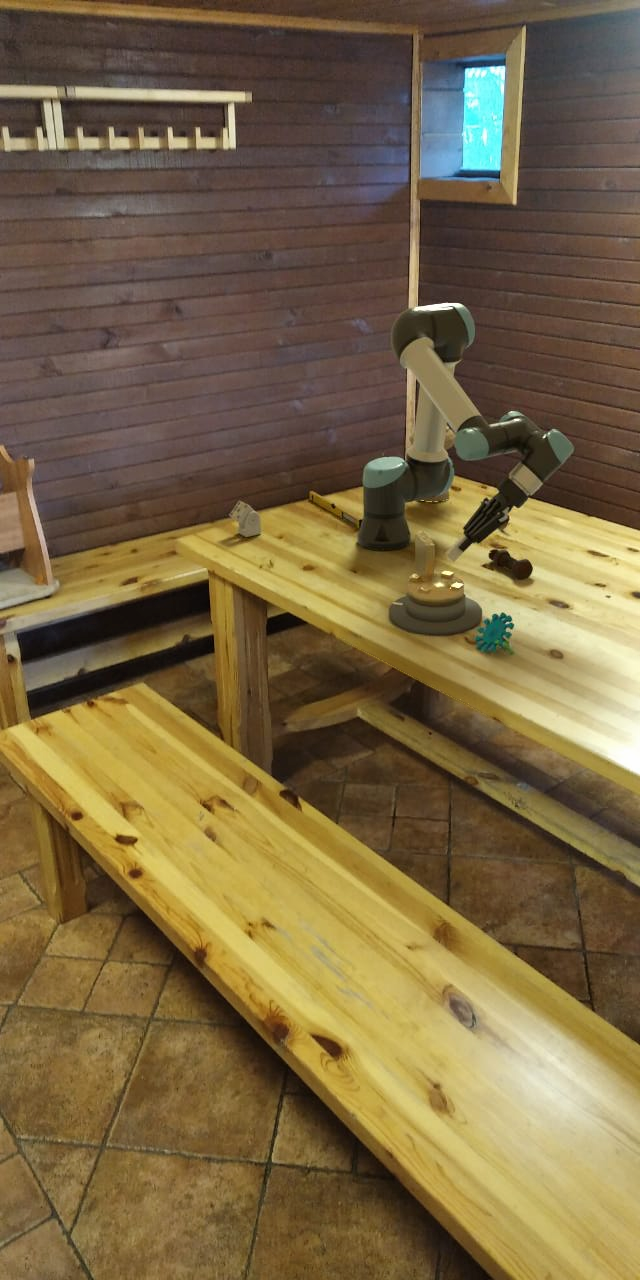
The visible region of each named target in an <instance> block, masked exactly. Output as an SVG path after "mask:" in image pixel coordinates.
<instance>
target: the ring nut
mask: <svg viewBox="0 0 640 1280" xmlns="http://www.w3.org/2000/svg"><path fill="white" fill-rule="evenodd" d="M414 542H415V544H414V545H415V549H414V550H415V552H414V554H415V555H414V559H415V560H414V571H415V572H416V573H412V574H411V575H410V576H409V578H408V579H409V580H408V582H407V586H408V587H407V593H408V597H409V599H410V600H411V601H413V602H415V603H417V604H420V605H425V606H432V607H441V606H449V605H453V604H456V603H458V602H460V601H461V600H462V599H463V597H464V594H465V582H464V581H463V580H462V578H460V577H458V576H456V575H455V572H453V571H448V570H444V571H442V572H441V573H439V572H436V573H435V563H436V561H435V558H436V544H435V543H434V542H433V540H432V539H431V538H430V537H429V536H428V534H427V533H426V532H425V531H424V530H422V531H415V541H414Z"/></svg>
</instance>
